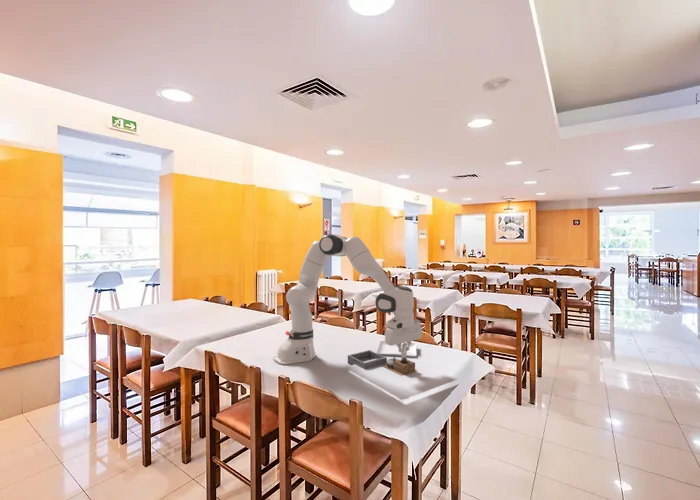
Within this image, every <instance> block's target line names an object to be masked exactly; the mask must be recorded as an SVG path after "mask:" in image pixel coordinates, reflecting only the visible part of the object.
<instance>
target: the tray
mask: <svg viewBox="0 0 700 500" xmlns="http://www.w3.org/2000/svg"><path fill="white" fill-rule="evenodd" d="M387 360H388V358H387V356H382V355H380V354H377V353H376V351H373V350H370V349H368V350H365V351H361V352H357V353H351V354H348V355H347V364H349V365H350V366H353V365H356V366H358V367H360V368H362V369H364V370H365V369H370V368H372V367H373V368H374V367H377V366H380V365H385V364H386V362H387Z"/></svg>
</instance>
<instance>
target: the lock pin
mask: <svg viewBox="0 0 700 500" xmlns="http://www.w3.org/2000/svg"><path fill="white" fill-rule="evenodd" d="M401 347H402V348H403V352H400V353H401V356H400V357H401V358H400V360H401V363H403V364H406V363H407V360H408V359H407V358H408V357H407V355H408V352H407V344H406V343H402V345H401Z"/></svg>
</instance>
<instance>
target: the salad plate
mask: <svg viewBox="0 0 700 500" xmlns="http://www.w3.org/2000/svg"><path fill="white" fill-rule="evenodd" d="M404 343H406V344H407V342H404ZM417 347H418V344H417V343H416V342H411V345H410V347H409V350H408V351H407V353H410V354H413V355H408V354H407V358H416V357H417V356H418V355H417ZM375 353H377V354H380V355H382V356H384V357H388V356H389V357H390V356H391V357H401V354H400V353H401V352H399V348H398V346H397V344H395V345H388V344H386V342H385V340H381V341H379V344H378V347H377V349H376V351H375Z"/></svg>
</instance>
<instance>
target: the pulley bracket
mask: <svg viewBox="0 0 700 500" xmlns="http://www.w3.org/2000/svg"><path fill="white" fill-rule="evenodd" d="M381 367H382V368H385V369H387V370H388V371H391V372H393V373H395V374H397V375H399V376H401V377H402V376H407V375H408V374H412V373H415V372H418V369H416V362H414V361H412V360H409V359H407V363H406V364H403V363H401V359H398V358H396V356H392V358H387V362H386V363H385V364H383V365H381Z"/></svg>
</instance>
